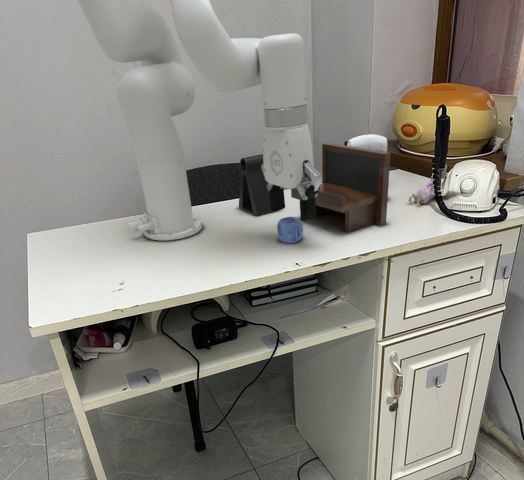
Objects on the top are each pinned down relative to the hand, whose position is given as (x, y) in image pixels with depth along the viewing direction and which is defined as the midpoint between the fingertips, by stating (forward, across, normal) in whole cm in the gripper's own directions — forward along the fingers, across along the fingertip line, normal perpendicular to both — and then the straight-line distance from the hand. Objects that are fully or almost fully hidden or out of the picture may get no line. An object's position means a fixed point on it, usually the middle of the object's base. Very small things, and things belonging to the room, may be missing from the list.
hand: (292, 214), depth 94 cm
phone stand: (+5, -23, +6) cm, 24 cm away
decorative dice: (+5, -1, 0) cm, 5 cm away
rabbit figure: (+6, +2, +40) cm, 40 cm away
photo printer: (+6, -18, +36) cm, 41 cm away
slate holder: (+5, -3, +12) cm, 14 cm away
